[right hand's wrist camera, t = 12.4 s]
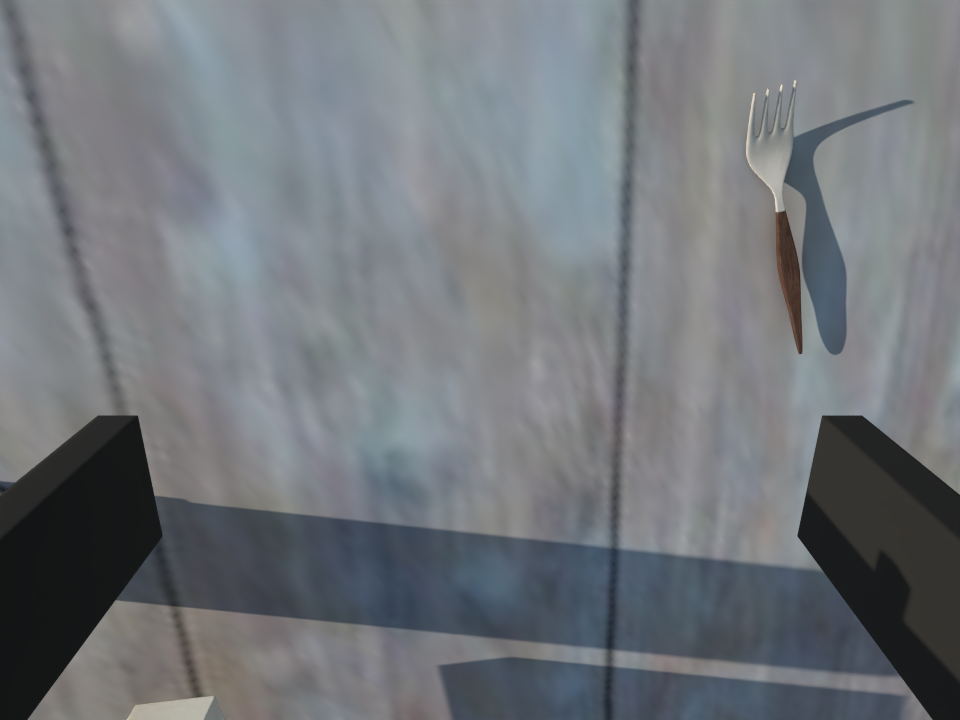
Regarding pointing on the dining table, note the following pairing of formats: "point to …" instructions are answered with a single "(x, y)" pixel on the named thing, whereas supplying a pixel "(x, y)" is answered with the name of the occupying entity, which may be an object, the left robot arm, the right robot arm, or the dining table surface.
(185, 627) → the dining table surface
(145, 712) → the bar
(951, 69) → the dining table surface
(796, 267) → the fork
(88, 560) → the right robot arm
